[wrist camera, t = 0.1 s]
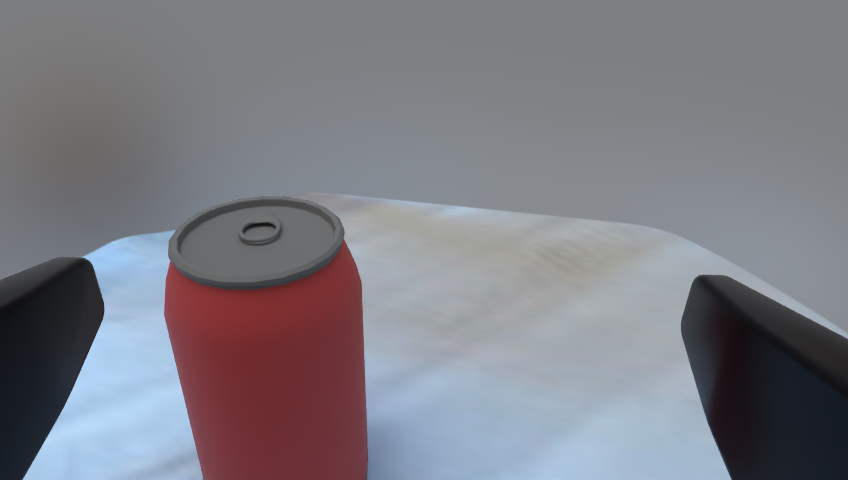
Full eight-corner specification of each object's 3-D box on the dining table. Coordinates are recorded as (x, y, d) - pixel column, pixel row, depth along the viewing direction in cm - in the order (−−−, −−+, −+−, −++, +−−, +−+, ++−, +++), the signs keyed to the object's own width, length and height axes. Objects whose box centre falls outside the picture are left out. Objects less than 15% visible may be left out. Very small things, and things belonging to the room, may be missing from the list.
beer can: (362, 412, 29) (352, 184, 23) (375, 538, 23) (368, 279, 17) (219, 428, 28) (171, 193, 22) (198, 563, 22) (125, 298, 16)
